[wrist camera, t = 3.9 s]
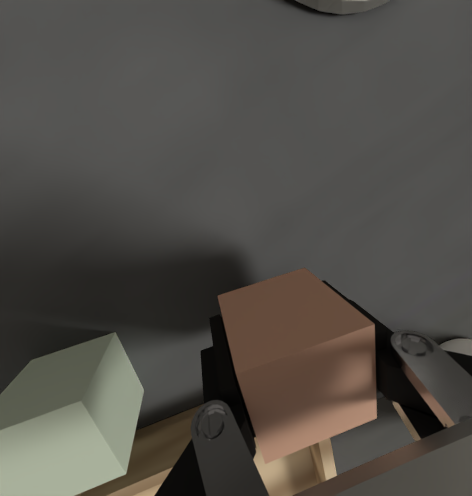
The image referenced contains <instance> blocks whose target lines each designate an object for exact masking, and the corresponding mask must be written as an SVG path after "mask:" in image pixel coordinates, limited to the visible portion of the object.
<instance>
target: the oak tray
mask: <svg viewBox="0 0 472 496" xmlns="http://www.w3.org/2000/svg"><path fill="white" fill-rule="evenodd" d="M202 405H204V404H202ZM202 405H200V406H197V407H195V408H192V409H189V410H187V411H184V412H182V413H179V414H177V415H174V416H172V417H169V418H167V419H164V420H162V421H159V422H157V423H154V424H151V425H149V426H146V427H144V428H141V429H139V430H136V431H135V435H134V440H133V444H132V449H131V454H130V459H129V463H128V468H127V473H126V474H125V475H123V476H120V477H118V478H116V479H113V480H111V481H108V482H106V483H104V484H101V485H99V486H96V487H94V488H92V489H89V490H87V491H84V492H82V493H80V494H77V495H75V496H154V495H155V494H156V492H157V491H158V489H159V488H160V486H161V485H162V483H163V482H164V480H165V479H166V477H167V476H168V474H169V472H170V471H171V469H172V468H173V466H174V465H175V463H176V462H177V460H178V459H179V457H180V456H181V454H182V453H183V451H184V450H185V448H186V446H187V445H188V443H189V442H190V440H191V439H192V436H191V422H192V419H193V417H194V415H195V413H196V412H197V410H198V409H199V408H200V407H201V406H202ZM254 440H255V444H256V448H255V449H256V454H255V456H254V459H253V460H254V463H255V465H256V467H257V469H258V471H259V474H260V476H261V478H262V480H263V482H264V485H265V487H266V489H267V491H268V493H269V496H292V495H294V494H297V493H299V492H301V491H304V490H306V489H308V488H310V487H313V486H315V485H317V484H319V483H322V482H324V481H326V480H328V479H331V478H333V477H335V476H337V474H336V469H335V463H334V458H333V452H332V447H331V441H330V438H328V439H325V440H323V441H320V442H318V443H315V444H313V445H311V446H308V447H306V448H303V449H301V450H298V451H296V452H294V453H291V454H289V455H286V456H284V457H281V458H279V459H277V460H274V461H272V462H269V463H267V464H265V462H264V459H263V456H262V453H261V450H260V447H259V444H258V441H257V437H255V438H254Z"/></svg>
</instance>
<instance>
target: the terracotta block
mask: <svg viewBox="0 0 472 496" xmlns="http://www.w3.org/2000/svg"><path fill="white" fill-rule="evenodd" d="M217 296H218V300H219V305H220V309H221V313H222V317H223V322H224V326H225V330H226V334H227V339H228V343H229V347H230V351H231V355H232V360H233V364H234V368H235V372H236V376H237V379H238V382H239V385H240V388H241V391H242V394H243V397H244V401H245V404H246V407H247V410H248V413H249V416H250V419H251V422H252V425H253V428H254V431H255V434H256V437H257V441H258V444H259V447H260V450H261V453H262V456H263V459H264V462H265V464H267V463H269V462H272V461H274V460H277V459H279V458H281V457H284V456H286V455H289V454H291V453H294V452H296V451H298V450H301V449H303V448H306V447H308V446H311V445H313V444H315V443H318V442H320V441H323V440H325V439H328V438H330V437H332V436H335V435H337V434H340V433H342V432H345V431H347V430H349V429H352V428H354V427H357V426H359V425H362V424H364V423H366V422H369V421H371V420H374V419H376V418H377V402H376V358H375V324H374V323H373V322H371V321H370V320H369V319H368V318H367V317H365V316H364V315H363V314H362V313H360V312H359V311H358V310H357V309H355V308H354V307H353V306H352V305H350V304H349V303H348V302H347V301H345V300H344V299H343V298H342V297H341V296H339V295H338V294H337V293H336V292H334V291H333V290H332V289H331V288H329V287H328V286H327V285H326V284H324V283H323V282H322V281H321V280H320V279H318V278H317V277H316V276H315V275H313V274H312V273H311V272H310V271H308V270H307V269H306V268H302V269H299V270H296V271H293V272H290V273H286V274H283V275H280V276H277V277H274V278H271V279H268V280H265V281H261V282H258V283H255V284H252V285H249V286H246V287H243V288H239V289H236V290H233V291H230V292H227V293H224V294H221V295H217Z"/></svg>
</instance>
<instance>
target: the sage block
mask: <svg viewBox="0 0 472 496" xmlns="http://www.w3.org/2000/svg"><path fill="white" fill-rule="evenodd" d="M143 393H144V389H143V387H142V385H141V383H140V381H139V379H138V377H137V375H136V373H135V371H134V369H133V367H132V365H131V363H130V361H129V359H128V357H127V355H126V353H125V351H124V349H123V347H122V345H121V342H120V340H119V338H118V336H117V334H116V332H114V333H111V334H108V335H105V336H102V337H99V338H96V339H93V340H90V341H87V342H84V343H81V344H78V345H75V346H72V347H69V348H66V349H63V350H60V351H57V352H54V353H51V354H48V355H45V356H42V357H39V358H36V359H33V360H31V361H30V362H29V363H28V364H27V365H26V367H25V368H24V369H23V370H22V371H21V372H20V373H19V374H18V375H17V376H16V378H15V379H14V380H13V381H12V382H11V383H10V384H9V385H8V386H7V387H6V389H5V390H4V391H3V392H2V393H1V394H0V496H75V495H77V494H80V493H82V492H84V491H87V490H89V489H92V488H94V487H96V486H99V485H101V484H104V483H106V482H108V481H111V480H113V479H116V478H118V477H120V476H123V475H125V474H126V473H127V468H128V463H129V459H130V454H131V449H132V444H133V440H134V435H135V430H136V426H137V421H138V416H139V412H140V407H141V402H142V397H143Z"/></svg>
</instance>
